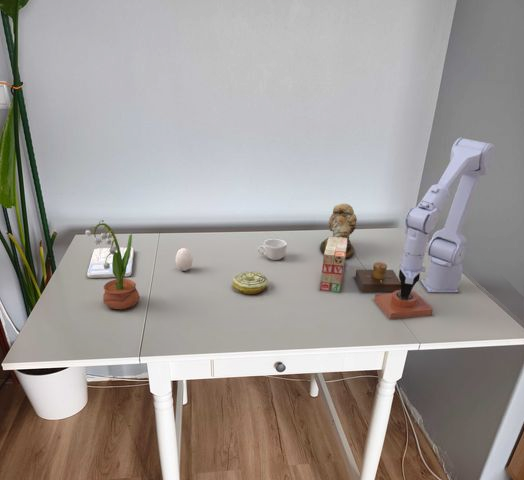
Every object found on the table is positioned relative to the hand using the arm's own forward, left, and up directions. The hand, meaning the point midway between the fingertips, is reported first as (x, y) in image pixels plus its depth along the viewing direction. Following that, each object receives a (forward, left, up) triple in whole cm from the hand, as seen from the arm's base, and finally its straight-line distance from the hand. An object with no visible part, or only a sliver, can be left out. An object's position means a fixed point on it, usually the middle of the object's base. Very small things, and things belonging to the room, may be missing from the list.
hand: (404, 295), depth 144 cm
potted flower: (+82, -2, -4) cm, 82 cm away
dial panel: (+4, -14, -4) cm, 15 cm away
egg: (+65, -24, -4) cm, 69 cm away
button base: (0, 0, -4) cm, 4 cm away
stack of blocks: (+17, -20, -4) cm, 27 cm away
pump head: (0, 0, -2) cm, 2 cm away
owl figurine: (+12, -41, -4) cm, 43 cm away
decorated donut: (+44, -12, -4) cm, 46 cm away
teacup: (+36, -34, -4) cm, 50 cm away
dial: (+4, -14, -1) cm, 15 cm away
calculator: (+89, -28, -4) cm, 93 cm away
